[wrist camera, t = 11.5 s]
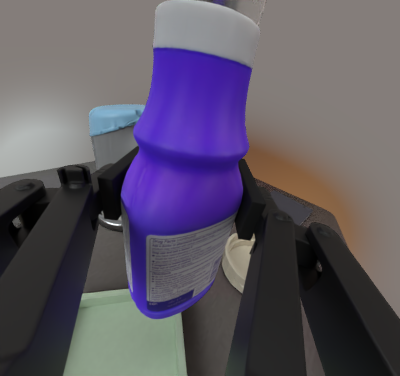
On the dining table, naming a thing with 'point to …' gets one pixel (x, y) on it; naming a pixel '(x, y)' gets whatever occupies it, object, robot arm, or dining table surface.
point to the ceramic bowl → (237, 260)
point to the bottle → (187, 155)
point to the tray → (123, 339)
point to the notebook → (291, 207)
